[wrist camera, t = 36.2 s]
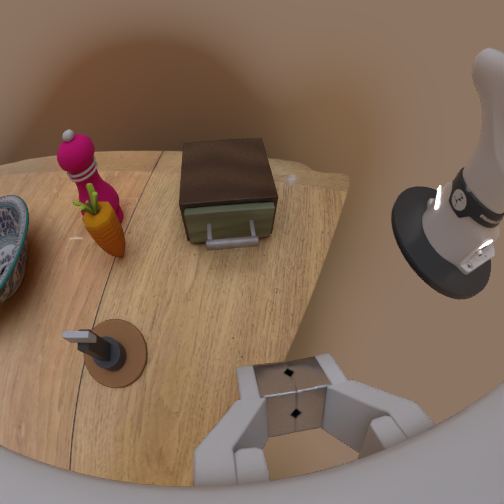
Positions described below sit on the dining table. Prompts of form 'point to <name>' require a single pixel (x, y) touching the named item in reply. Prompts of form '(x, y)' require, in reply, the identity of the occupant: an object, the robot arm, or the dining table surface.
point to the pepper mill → (85, 170)
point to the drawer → (230, 224)
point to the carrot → (103, 224)
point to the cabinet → (225, 174)
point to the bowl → (12, 244)
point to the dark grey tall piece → (98, 348)
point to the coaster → (134, 352)
